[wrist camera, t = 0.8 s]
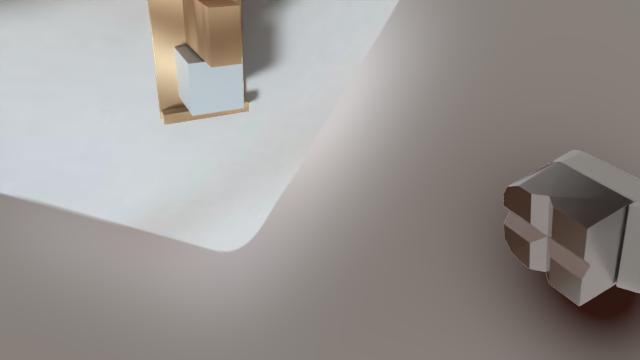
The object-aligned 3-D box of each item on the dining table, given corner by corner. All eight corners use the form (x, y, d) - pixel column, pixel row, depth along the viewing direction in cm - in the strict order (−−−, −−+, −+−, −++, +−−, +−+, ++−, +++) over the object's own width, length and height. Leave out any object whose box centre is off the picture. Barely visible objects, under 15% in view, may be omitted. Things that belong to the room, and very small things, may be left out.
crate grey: (174, 47, 42) (188, 63, 39) (225, 41, 44) (242, 57, 41) (179, 96, 44) (192, 115, 41) (227, 89, 46) (243, 107, 43)
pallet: (133, -107, 38) (161, -96, 32) (232, -105, 40) (273, -96, 35) (158, 113, 46) (183, 151, 40) (239, 101, 49) (272, 135, 43)
